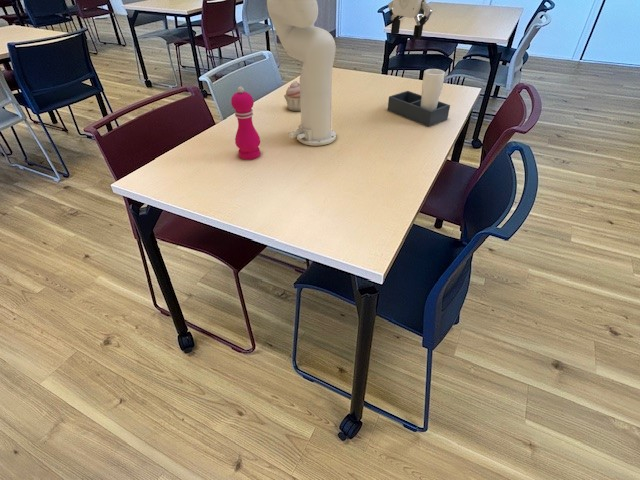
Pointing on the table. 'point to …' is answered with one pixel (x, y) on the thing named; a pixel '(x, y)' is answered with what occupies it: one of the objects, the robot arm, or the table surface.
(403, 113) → the glass rack
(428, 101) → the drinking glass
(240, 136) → the pepper mill
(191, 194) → the table surface
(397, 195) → the table surface
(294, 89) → the cupcake
